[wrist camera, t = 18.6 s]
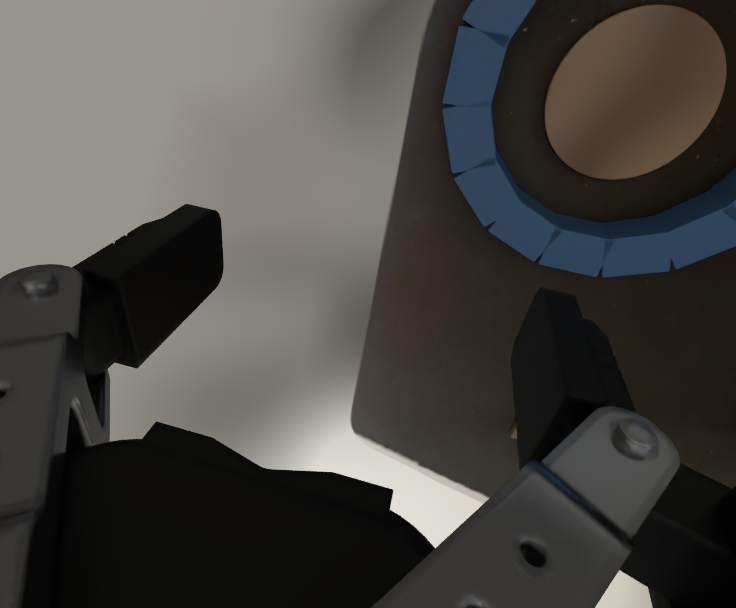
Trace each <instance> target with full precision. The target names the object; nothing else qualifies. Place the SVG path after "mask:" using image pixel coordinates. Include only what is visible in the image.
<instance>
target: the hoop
mask: <svg viewBox="0 0 736 608" xmlns="http://www.w3.org/2000/svg"><path fill="white" fill-rule="evenodd" d="M536 1H537V0H472V2H471V4H470V5H469V7H468V9H467V10H466V12H465V14H464V15H463V17H462V19H463V20H465V21H466V22H467V23H469V24H470V25H471V26H468V25H460V26H459V27H458V32H457V36H456V41H455V45H454V50H453V55H452V59H451V64H450V69H449V73H448V78H447V82H446V87H445V92H444V96H443V101H442V103H444V104H445V105H444V107H443V109H442V114H443V120H444V127H445V133H446V140H447V146H448V153H449V159H450V166H451V172H452V173H455V176H454V180H455V182H456V183H457V185H458V187H459V188H460V190H461V191H462V193H463V195H464V196H465V198H466V199H467V201H468V203H469V204H470V206H471V207H472V209H473V211H474V212H475V214H476V215H477V217H478V219H479V220H480V222H481V223H482V225H483V227H485V226H487V225H488V231H489V232H490V233H492V234H493V235H494V236H496V237H497V238H499V239H500V240H502V241H503V242H505V243H506V244H508V245H509V246H511V247H512V248H514V249H515V250H517V251H518V252H519V253H521V254H522V255H524V256H525V257H527V258H528V259H530V260H531V261H533V262H534V261H535V260H536V259H538V264H540V265H544V266H549V267H553V268H558V269H562V270H566V271H571V272H575V273H580V274H584V275H588V276H593V277H597V275H598V273H599V271H600V273H601V276H602V277H603V278H604V277H615V276H625V275H635V274H646V273H656V272H667V271H670V262H671V263H672V265H673V266H674V268H675V269H679V268H681V267H684V266H686V265H689V264H691V263H694V262H697V261H699V260H702V259H704V258H707V257H709V256H712V255H714V254H717V253H719V252H722V251H725V250H727V249H730V248H732V247H735V246H736V167H735V168H734V169H733V170H732V171H731V172H729V173H728V174H727V175H726V176H725V177H724V178H722V179H721V180H720V181H719V182H718V183H717V184H715V185H714V186H713V187H712V188H711V189H710V190H708V191H707V192H705V193H703V194H700V195H698V196H696V197H694V198H692V199H690V200H687V201H685V202H683V203H681V204H679V205H676V206H674V207H672V208H670V209H668V210H665V211H663V212H661V213H659V214H657V215H654V216H649V217H641V218H634V219H626V220H618V221H611V222H603V223H599V222H594V221H590V220H585V219H580V218H576V217H571V216H566V215H562V214H557V213H554V212H552V211H551V210H550V209H548V208H547V207H545V206H544V205H542V204H541V203H540V202H538V201H537V200H535V199H534V198H532V197H531V196H530V195H528V194H527V193H525V192H524V191H522V190H521V189H520V188H518V186H517V184H516V182H515V181H514V179H513V177H512V176H511V174H510V172H509V170H508V169H507V167H506V165H505V163H504V162H503V160H502V158H501V156H500V155H499V153H498V151H497V149H496V144H495V134H494V124H493V114H492V104H491V103H492V100H493V96H494V92H495V89H496V85H497V82H498V78H499V74H500V71H501V67H502V64H503V60H504V56H505V53H506V49H507V46H508V42H509V41H510V39H511V38H512V36H513V35H514V33H515V32H516V31H517V29H518V28H519V26H520V25H521V23H522V22H523V20H524V19H525V17H526V16H527V14H528V13H529V11H530V10H531V8H532V7H533V6H534V4H535V3H536Z"/></svg>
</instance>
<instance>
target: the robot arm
mask: <svg viewBox="0 0 736 608" xmlns="http://www.w3.org/2000/svg"><path fill="white" fill-rule="evenodd" d="M222 273H223V248H222V229H221V218H220V216H219V213H218V212H217V211H215V210H211V209H206V208H202V207H198V206H193V205H189V204H186V205H184V206H182V207H180V208H178V209H177V210H175V211H174V212H172V213H171V214H169V215H167V216H166V217H164V218H162V219H158V220H155V221H152V222H148V223H145V224H143V225H141V226H139V227H137V228H136V229H134V230H133V231H131V232H129V233H128V234H127V236H123V237H121V238H120V239H118V240H116V241H115V244H113V243H111V244H110V245H108V246H106V247H105V248H103V249H101V250H100V251H98V252H97V253H95V254H94V255H92V256H90V257H88V258H87V259H85V260H84V261H82V262H80V263H79V264H77V265H75V266H74V267H72V268H71V267H68V266H64V265H54V264H53V265H52V264H47V265H37V266H31V267H26V268H23V269H19V270H16V271H14V272H11V273H9V274H7V275H6V276H4V277H2V278H1V279H0V608H595V606H596V605H597V603H598V602H599V600H600V599H601V597H602V596H603V594H604V593H605V591H606V589H607V588H608V586H609V585H610V583H611V582H612V580H613V579H614V577H615V576H616V574H617V573H618V571H619V570H621V571H622V572H624V573H626V574H628V575H629V576H630V577H632V578H634V579H636V580H637V581H639V582H640V583H642V584H644V585H646V586H647V587H648V589H649V593H650V598H651V602H652V606H653V608H736V486H735V487H734V488H733V489H731V488H729V487H727V486H725V485H723V484H721V483H719V482H717V481H715V480H713V479H711V478H709V477H707V476H705V475H703V474H701V473H699V472H697V471H695V470H693V469H691V468H689V467H687V466H685V465H683V464H681V463H680V458H679V454H678V451H677V449H676V447H675V445H674V444H673V442H672V441H671V440H670V438H669V437H668V436H667V435H666V434H665V433H664V432H663V431H662V430H661V429H660V428H659V427H658V426H657V425H655V424H654V423H652V422H651V421H650V420H648V419H646V418H645V417H643V416H641V415H639V414H637V413H636V411H635V408H634V406H633V403H632V400H631V398H630V395H629V393H628V390H627V387H626V385H625V382H624V380H623V377H622V374H621V372H620V370H619V369H618V364H617V361H616V359H615V356H613V351H612V348H611V346H610V343H609V340H608V338H607V336H606V335H605V334H604V333H603V332H602V331H601V330H600V329H599V327H598V326H597V325H596V324H595V323H594V322H593V321H591V320H587V319H583V318H582V315H581V312H580V309H579V306H578V302H577V299H576V297H575V295H572V294H568V293H564V292H559V291H555V290H551V289H547V288H540V289H539V290H538V291H537V293H536V294H535V296H534V299H533V301H532V303H531V306H530V308H529V310H528V312H527V315H526V317H525V319H524V321H523V324H522V326H521V328H520V331H519V333H518V335H517V337H516V340H515V343H514V346H513V351H512V357H511V368H512V380H513V393H514V405H515V418H516V431H517V443H518V456H519V468H520V471H519V472H518V473H517V474H516V475H515V476H513V477H512V478H511V479H510V480H509V481H508V482H507V483H506V484H505V485H504V486H503V487H502V488H500V489H499V490H498V491H497V492H496V493H495V494H494V495H493V496H492V497H491V498H490V499H489V500H487V501H486V502H485V503H484V504H483V505H482V506H481V507H480V508H479V509H478V510H477V511H476V512H475V513H473V514H472V515H471V516H470V517H469V518H468V519H467V520H466V521H465V522H464V523H463V524H461V525H460V526H459V527H458V528H457V529H456V530H455V531H454V532H453V533H452V534H451V535H450V536H448V537H447V538H446V539H445V540H444V541H443V542H442V543H441V544H440V545H439V546H438V547H437V548H434V547H433V546H432V544H431V543H430V542H429V541H428V540H427V539H426V538H425V536H423V535H422V534H421V533H420V532H419V531H418V530H417V529H416V528H415V527H414V526H413V525H411V524H410V523H409V522H407V521H406V520H405V519H403V518H402V517H401V516H399V515H398V514H396V513H394V512H393V511H391V510H390V505H391V499H392V494H393V490H392V489H389V488H385V487H382V486H378V485H375V484H371V483H368V482H365V481H361V480H358V479H354V478H351V477H347V476H344V475H340V474H337V473H333V472H314V471H293V470H272V469H266V468H262V467H260V466H258V465H257V464H255V463H253V462H252V461H250V460H248V459H247V458H245V457H243V456H242V455H240V454H238V453H237V452H235V451H233V450H232V449H230V448H228V447H227V446H225V445H223V444H222V443H220V442H219V441H216V440H215V439H214V438H211V437H208V436H204V435H201V434H198V433H194V432H191V431H187V430H184V429H180V428H177V427H173V426H170V425H167V424H163V423H159V422H156V423H155V424H154V425H153V426H152V427H151V429H150V430H149V431H148V432H147V434H146V435H145V436H144V437H143V439H129V440H118V441H112V442H110V441H109V440H110V439H109V435H110V426H109V425H110V377H109V373H108V370H107V369H108V368H109V367H110V366H111V365H112V364H113V363H114V362H116V363H119V364H122V365H126V366H130V367H133V368H138V367H139V366H140V365H141V364H142V363H143V362H144V361H145V360H146V359H147V358H148V357H149V356H150V355H151V354H152V353H153V352H154V351H155V350H156V349H157V348H158V347H159V346H160V345H161V344H162V343H163V342H164V341H165V340H166V339H167V337H169V336H170V335H171V334H172V332H173V331H174V330H175V329H176V328H177V327H178V326H179V325H180V324H181V323H182V322H183V321H184V320H185V319H186V318H187V317H188V316H189V315H190V314H191V313H192V312H193V311H194V310H195V309H196V308H197V307H198V306H199V305H200V304H201V303H202V302H203V301H204V300H205V299H206V298H207V297H208V296H209V295H210V294H211V293H212V292H213V291H214V290H215V289H216V287H217V286H218V284H219V283H220V280H221V278H222Z"/></svg>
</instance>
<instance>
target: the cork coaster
mask: <svg viewBox="0 0 736 608" xmlns="http://www.w3.org/2000/svg"><path fill="white" fill-rule="evenodd" d="M726 72H727V66H726V56H725V52H724V48H723V45H722V43H721V40H720V38H719V36H718V34H717V33H716V32H715V30H714V29H713V27H712V26H711V25H710V24H709V23H708V22H707V21H706V20H705V19H704V18H702V17H701V16H699V15H698V14H696V13H694V12H692V11H690V10H688V9H685V8H682V7H678V6H674V5H663V4H656V5H644V6H638V7H633V8H630V9H627V10H624V11H621V12H618V13H616V14H614V15H612V16H610V17H608V18H606V19H604V20H603V21H601V22H599V23H598V24H596V25H595V26H593V27H592V28H591V29H589V30H588V31H587V32H586V33H584V34H583V35H582V36H581V37H580V38H579V39H578V40H577V41H576V42H575V43H574V44H573V45H572V46H571V48H570V49H569V50H568V51H567V52H566V54H565V55H564V57H563V58H562V60H561V61H560V62H559V64H558V66H557V68H556V70H555V71H554V73H553V76H552V78H551V80H550V83H549V86H548V89H547V93H546V97H545V103H544V124H545V129H546V133H547V137H548V139H549V142H550V144H551V146H552V148H553V149H554V151H555V153H556V154H557V155H558V157H559V158H560V159H561V160H562V161H563V162H564V163H565V164H566V165H568V166H569V167H570V168H572V169H573V170H575V171H577V172H579V173H581V174H583V175H586V176H589V177H593V178H598V179H606V180H617V179H626V178H631V177H636V176H639V175H642V174H645V173H648V172H651V171H653V170H655V169H658V168H660V167H661V166H663V165H665V164H667V163H669V162H670V161H672V160H673V159H674V158H676V157H677V156H679V155H680V154H681V153H682V152H684V151H685V150H686V149H687V148H688V147H690V146H691V144H692V143H693V142H694V141H695V140H696V139H697V138H698V137H699V136H700V135H701V133H702V132H703V131H704V130H705V128H706V127H707V126H708V124H709V122H710V121H711V119H712V118H713V116H714V114H715V112H716V110H717V108H718V106H719V103H720V101H721V98H722V95H723V92H724V87H725V82H726Z"/></svg>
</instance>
